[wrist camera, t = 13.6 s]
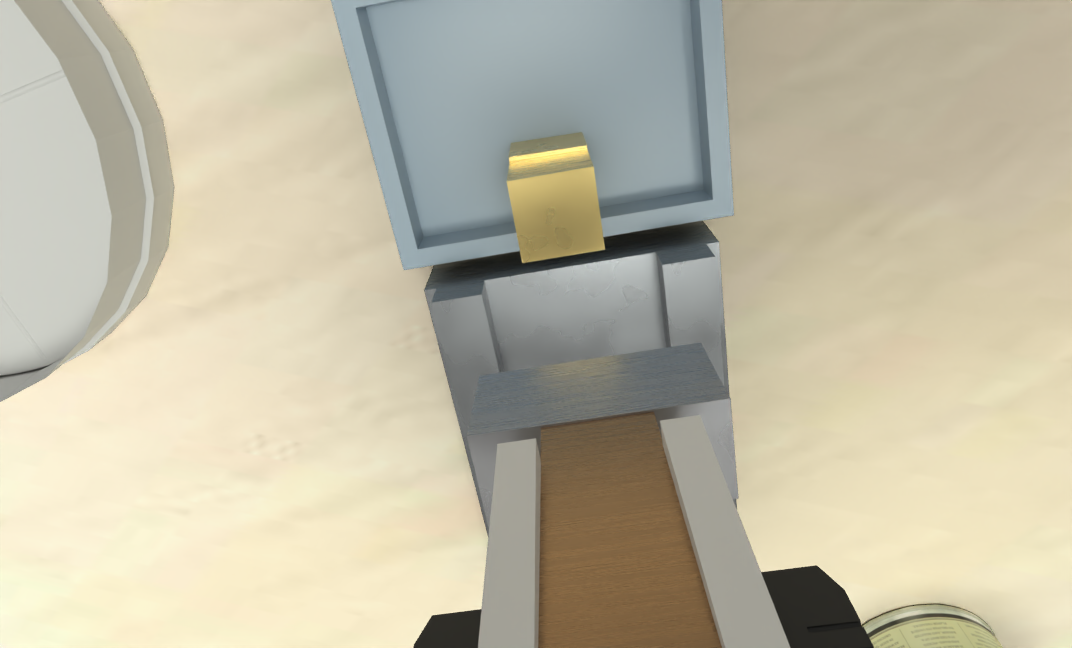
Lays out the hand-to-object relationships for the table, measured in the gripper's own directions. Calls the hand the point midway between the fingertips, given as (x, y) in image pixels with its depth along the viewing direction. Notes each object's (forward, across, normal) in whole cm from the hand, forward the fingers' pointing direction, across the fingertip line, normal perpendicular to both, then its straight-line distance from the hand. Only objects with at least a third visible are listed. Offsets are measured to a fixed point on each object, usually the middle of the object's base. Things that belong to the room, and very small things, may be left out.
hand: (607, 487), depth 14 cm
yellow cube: (+16, 0, -2) cm, 16 cm away
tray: (+19, 0, -5) cm, 20 cm away
